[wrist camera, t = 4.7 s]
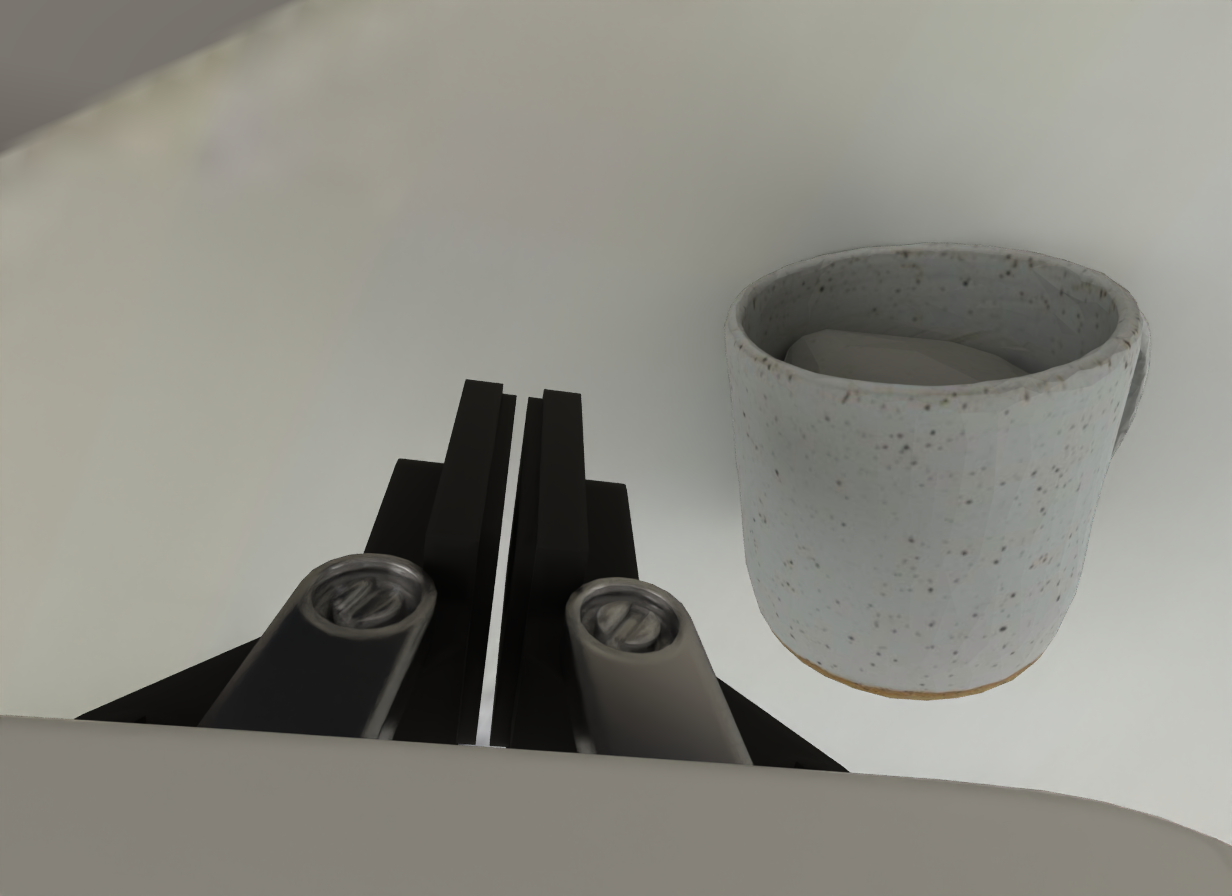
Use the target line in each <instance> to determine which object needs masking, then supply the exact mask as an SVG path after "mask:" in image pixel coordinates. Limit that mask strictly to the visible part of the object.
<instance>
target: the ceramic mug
mask: <svg viewBox="0 0 1232 896" xmlns="http://www.w3.org/2000/svg"><path fill="white" fill-rule="evenodd" d="M724 326H725V347H726V357H727V365H728V372H729V380H730V390H731V403H732V415H733V428H734V440H735V453H736V464H737V470H738V476H739V483H740V496H741V511H742V525H743V536H744V547H745V558H746V565H747V569H748V572H749V576H750V579H751V583H752V586H753V590H754V593H755V596H756V599H757V602H758V605H759V608H760V611H761V613H762V615H763V617H764V618H765V620H766V622H767V623H768V625H769V627H770V628H771V630H772V632H773V633H774V635H775V636H776V637H777V638H778V639H779V641H780V642H781V643H782V644H783V645H784V646H785V647H786V648H787V649H788V650H789V651H790V652H792V653H793V654H794V655H795V656H796V657H797V658H798V659H799V660H800V661H802V662H803V663H804V664H806V665H808V666H809V667H811V668H813V669H814V670H816V671H817V672H819V673H821V674H822V675H824V676H826V677H828V678H831V679H833V680H835V681H838V682H840V683H843V684H845V685H848V686H850V687H852V688H855V689H858V690H862V691H866V692H870V693H873V694H877V695H881V696H885V697H888V698H897V699H912V700H938V699H950V698H958V697H963V696H968V695H973V694H978V693H982V692H985V691H987V690H989V689H992V688H994V687H997V686H999V685H1002V684H1004V683H1006V682H1009V681H1011V680H1013V679H1014V678H1016V677H1017V676H1018V675H1019V674H1021V673H1022V672H1023V671H1024V670H1026V669H1027V668H1028V667H1029V666H1031V665H1032V664H1033V663H1034V662H1035V661H1036V660H1037V659H1039V658H1040V656H1041V655H1042V654H1043V652H1044V651H1045V649H1046V648H1047V647H1048V645H1049V644H1050V642H1051V641H1052V640H1053V638H1054V637H1055V635H1056V633H1057V631H1058V629H1059V627H1060V625H1061V623H1062V621H1063V619H1064V617H1065V615H1066V613H1067V610H1068V608H1069V606H1070V604H1071V602H1072V600H1073V598H1074V596H1075V594H1076V590H1077V587H1078V583H1079V580H1080V577H1081V573H1082V569H1083V564H1084V560H1085V555H1086V551H1087V546H1088V541H1089V536H1090V530H1091V526H1092V522H1093V518H1094V514H1095V510H1096V507H1097V503H1098V499H1099V495H1100V491H1101V488H1102V484H1103V481H1104V478H1105V475H1106V473H1107V470H1108V467H1109V463H1110V460H1111V459H1112V457H1113V455H1114V454H1115V452H1116V451H1117V449H1118V448H1119V446H1120V444H1121V442H1122V440H1123V438H1124V437H1125V435H1126V433H1127V431H1128V429H1129V427H1130V425H1131V423H1132V421H1133V419H1134V417H1135V414H1136V410H1137V406H1138V403H1139V401H1140V399H1141V397H1142V393H1143V389H1144V386H1145V382H1146V379H1147V375H1148V369H1149V364H1150V348H1151V338H1150V329H1149V325H1148V322H1147V320H1146V318H1145V317H1144V315H1143V313H1142V312H1141V311H1140V309H1139V308H1138V305H1137V302H1136V301H1135V299H1134V298H1133V297H1132V295H1131V294H1130V292H1129V291H1128V290H1126V289H1125V288H1124V287H1122V286H1120V285H1119V284H1117V283H1116V282H1114V281H1113V280H1111V279H1110V278H1109V277H1107V276H1106V275H1105V274H1103V273H1101V272H1098V271H1095V270H1092V269H1089V268H1086V267H1083V266H1080V265H1077V264H1075V263H1072V262H1069V261H1066V260H1063V259H1058V258H1054V257H1050V256H1047V255H1043V254H1040V253H1035V252H1030V251H1024V250H1015V249H1007V248H1000V247H993V246H986V245H966V244H950V243H920V244H911V245H900V246H884V247H866V248H859V249H854V250H849V251H843V252H838V253H833V254H828V255H820V256H817V257H815V258H812V259H810V260H804V261H799V262H796V263H793V264H790V265H787V266H785V267H783V268H781V269H779V270H778V271H775V272H773V273H770V274H768V275H766V276H764V277H762V278H760V279H758V280H757V281H755V282H753V283H752V284H750V285H749V286H748V287H746V288H745V289H744V290H743V291H742V292H741V293H740V294H739V295H738V297H737V298H736V300H735V301H734V302H733V304H732V305H731V307H730V310H729V313H728V316H727V319H726V321H725V324H724Z"/></svg>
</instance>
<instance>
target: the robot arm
mask: <svg viewBox="0 0 1232 896" xmlns="http://www.w3.org/2000/svg"><path fill="white" fill-rule="evenodd" d="M502 393H503V384H500V383H492V382H484V381H476V380H468V379H466V381H465V384H464V388H463V392H462V396H461V400H460V403H459V407H458V411H457V415H456V419H455V423H454V427H453V431H452V434H451V438H450V442H449V446H448V450H447V454H446V458H445V462H444V463H436V462H427V461H418V460H409V459H398V461H397V463H396V465H395V468H394V471H393V474H392V476H391V479H390V482H389V485H388V487H387V490H386V493H385V496H384V498H383V501H382V504H381V507H380V509H379V512H378V515H377V518H376V520H375V523H374V526H373V529H372V532H371V534H370V537H369V540H368V543H367V545H366V548H365V551H364V554H353V555H347V556H344V557H340V558H337V559H333V560H330V561H328V562H326V563H324V564H322V565H321V566H319V567H317V568H315V569H313V570H312V571H311V572H310V573H309V574H308V575H307V576H306V577H305V578H304V579H303V580H302V581H301V582H300V584H299V585H298V587H297V588H296V589H295V591H294V592H293V594H292V595H291V596H290V598H289V599H288V600H287V602H286V603H285V605H284V606H283V607H282V609H281V610H280V612H279V613H278V614H277V616H276V617H275V619H274V620H273V621H272V623H271V624H270V625H269V627H268V628H267V630H266V631H265V632H264V634H263V635H262V636H261V637H259V638H257V639H255V640H252V641H250V642H248V643H245V644H243V645H241V646H239V647H236V648H234V649H232V650H229V651H227V652H225V653H222V654H220V655H218V656H216V657H213V658H211V659H209V660H206V661H204V662H202V663H199V664H197V665H195V666H193V667H190V668H188V669H186V670H183V671H181V672H179V673H177V674H174V675H172V676H170V677H167V678H165V679H163V680H160V681H158V682H156V683H154V684H151V685H149V686H147V687H144V688H142V689H140V690H137V691H135V692H133V693H131V694H128V695H126V696H124V697H121V698H119V699H117V700H115V701H112V702H110V703H108V704H105V705H103V706H101V707H98V708H96V709H94V710H92V711H89V712H87V713H85V714H82V715H80V716H79V717H77V718H75V719H59V718H43V717H27V716H12V715H0V896H1232V846H1231V845H1229V844H1227V843H1225V842H1222V841H1220V840H1218V839H1216V838H1213V837H1211V836H1208V835H1205V834H1203V833H1200V832H1198V831H1195V830H1192V829H1190V828H1187V827H1184V826H1182V825H1179V824H1177V823H1174V822H1171V821H1169V820H1166V819H1164V818H1161V817H1158V816H1154V815H1151V814H1147V813H1143V812H1140V811H1136V810H1132V809H1129V808H1125V807H1121V806H1118V805H1114V804H1110V803H1106V802H1103V801H1098V800H1092V799H1087V798H1082V797H1076V796H1071V795H1065V794H1060V793H1054V792H1049V791H1043V790H1033V789H1024V788H1015V787H1005V786H996V785H987V784H977V783H968V782H959V781H949V780H940V779H927V778H913V777H900V776H887V775H873V774H860V773H850V772H849V771H848V770H847V769H845V768H844V767H843V766H841V765H840V764H839V763H837V762H836V761H834V760H833V759H831V758H830V757H829V756H827V755H826V754H824V753H823V752H822V751H820V750H819V749H817V748H816V747H815V746H813V745H812V744H810V743H809V742H808V741H806V740H805V739H803V738H802V737H800V736H799V735H798V734H796V733H795V732H793V731H792V730H791V729H789V728H788V727H786V726H785V725H784V724H782V723H781V722H779V721H778V720H777V719H775V718H774V717H772V716H771V715H769V714H768V713H767V712H765V711H764V710H762V709H761V708H760V707H758V706H757V705H755V704H754V703H753V702H751V701H750V700H748V699H747V698H746V697H744V696H743V695H741V694H740V693H738V692H737V691H736V690H734V689H733V688H731V687H730V686H729V685H727V684H726V683H724V682H723V681H722V680H720V679H719V678H717V677H716V676H715V673H714V671H713V669H712V666H711V664H710V662H709V659H708V657H707V654H706V652H705V650H704V647H703V645H702V643H701V640H700V638H699V636H698V633H697V631H696V629H695V626H694V624H693V621H692V619H691V617H690V615H689V614H688V612H687V611H686V609H685V608H684V606H683V604H682V603H680V602H679V601H678V600H677V599H676V598H675V597H673V596H672V595H671V594H670V593H668V592H667V591H665V590H663V589H661V588H659V587H657V586H655V585H653V584H650V583H647V582H644V581H640V580H639V577H638V569H637V562H636V554H635V547H634V540H633V532H632V525H631V517H630V510H629V502H628V495H627V489H626V485H625V484H621V483H612V482H603V481H594V480H586V479H585V463H584V443H583V423H582V403H581V394H579V393H571V392H563V391H555V390H547V389H544V393H543V399H541V398H533V397H529V398H528V405H527V412H526V420H525V428H524V436H523V444H522V452H521V459H520V467H519V475H518V483H517V491H516V499H515V506H514V514H513V522H512V530H511V538H510V546H509V554H508V562H507V572H506V582H505V592H504V602H503V613H502V623H501V633H500V643H499V653H498V664H497V674H496V684H495V694H494V705H493V715H492V725H491V735H490V746H500V747H506V748H493V747H478V746H463V745H458V744H471V745H475V744H476V735H477V727H478V719H479V710H480V702H481V694H482V686H483V677H484V669H485V661H486V652H487V644H488V636H489V627H490V619H491V611H492V603H493V594H494V586H495V578H496V569H497V561H498V553H499V544H500V536H501V527H502V518H503V510H504V501H505V492H506V484H507V475H508V466H509V458H510V449H511V441H512V432H513V423H514V415H515V406H516V397H517V395H509V394H502Z"/></svg>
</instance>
